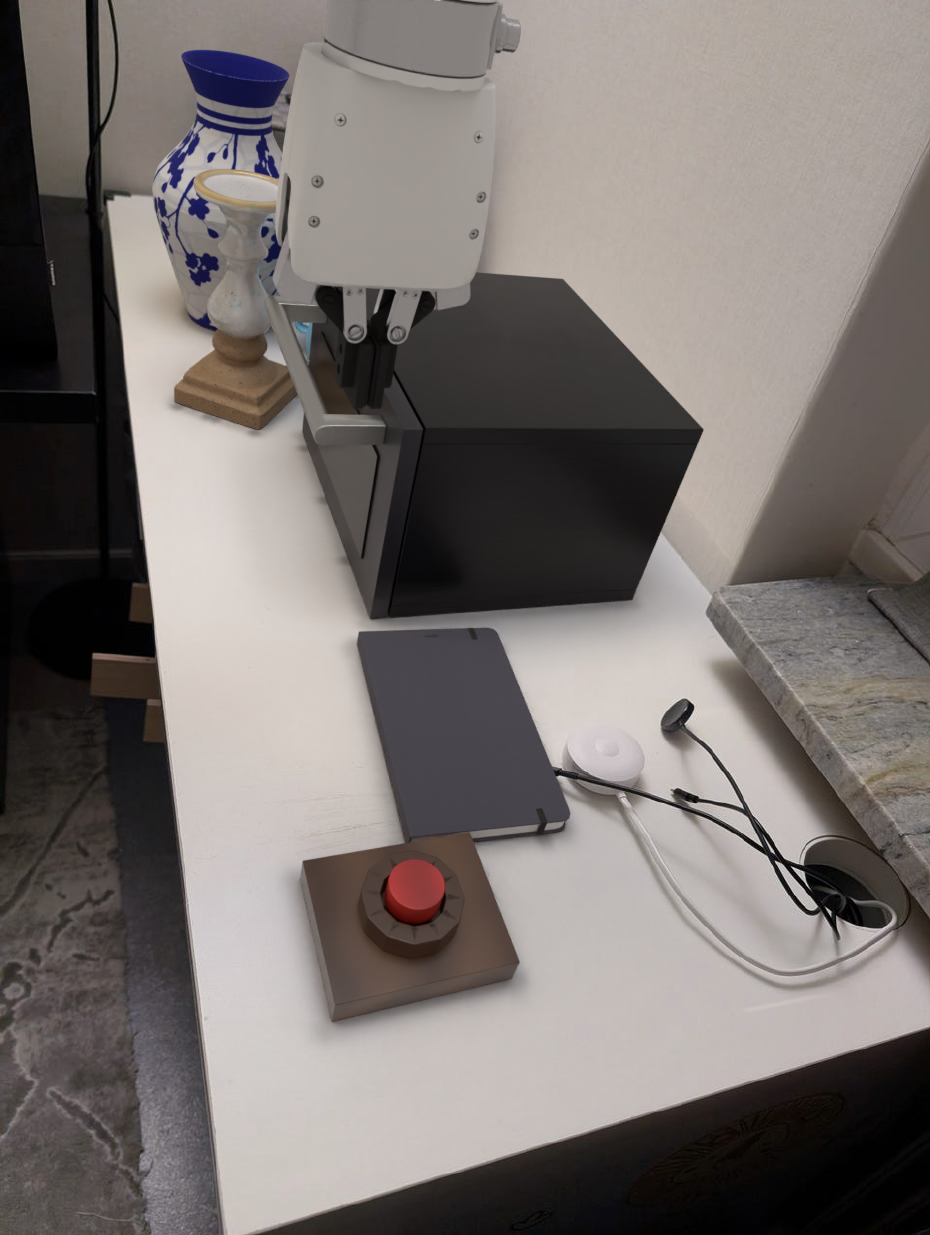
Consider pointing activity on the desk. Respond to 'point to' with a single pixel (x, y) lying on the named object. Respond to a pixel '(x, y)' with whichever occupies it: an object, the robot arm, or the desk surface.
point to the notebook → (458, 736)
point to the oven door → (353, 451)
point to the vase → (219, 139)
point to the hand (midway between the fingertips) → (360, 396)
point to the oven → (531, 454)
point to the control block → (403, 928)
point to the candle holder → (238, 310)
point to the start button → (414, 891)
